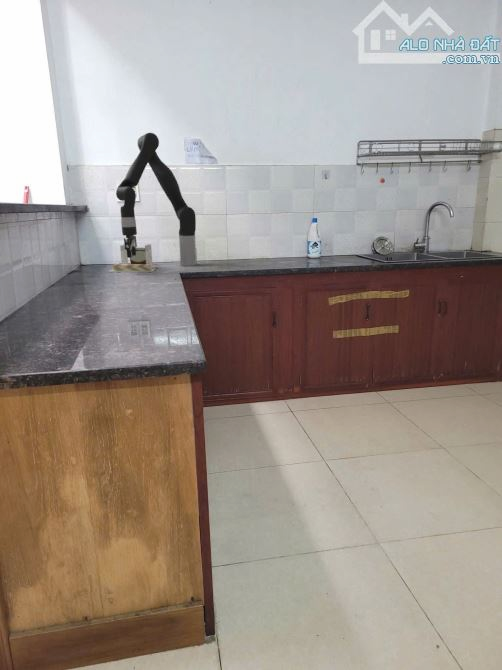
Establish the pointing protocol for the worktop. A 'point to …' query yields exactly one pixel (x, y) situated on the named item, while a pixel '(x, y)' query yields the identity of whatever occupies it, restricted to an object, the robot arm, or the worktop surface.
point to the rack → (147, 251)
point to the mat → (132, 271)
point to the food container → (138, 256)
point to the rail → (131, 267)
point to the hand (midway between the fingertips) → (131, 256)
